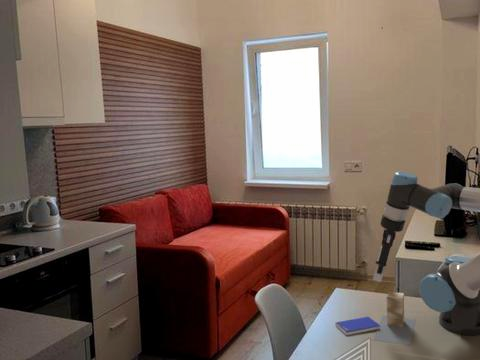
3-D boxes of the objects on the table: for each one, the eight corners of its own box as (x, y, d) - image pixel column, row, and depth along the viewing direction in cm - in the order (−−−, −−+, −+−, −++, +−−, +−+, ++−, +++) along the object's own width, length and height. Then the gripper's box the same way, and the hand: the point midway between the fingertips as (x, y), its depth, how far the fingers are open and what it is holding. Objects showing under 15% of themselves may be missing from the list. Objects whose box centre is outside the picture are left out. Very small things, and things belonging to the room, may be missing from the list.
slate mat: (415, 320, 163) (415, 319, 163) (409, 346, 145) (409, 345, 145) (382, 316, 168) (382, 315, 168) (373, 341, 150) (373, 339, 150)
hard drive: (346, 331, 154) (380, 324, 157) (335, 321, 162) (367, 315, 165) (346, 335, 154) (380, 329, 157) (335, 326, 162) (367, 320, 165)
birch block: (404, 320, 163) (404, 293, 162) (402, 327, 158) (402, 298, 157) (389, 318, 165) (388, 291, 164) (387, 325, 160) (386, 296, 159)
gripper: (385, 202, 170) (371, 253, 177) (379, 227, 148) (363, 285, 155) (407, 207, 168) (392, 259, 175) (404, 233, 145) (386, 292, 153)
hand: (378, 271), depth 165 cm, fingers open, 13 cm apart
